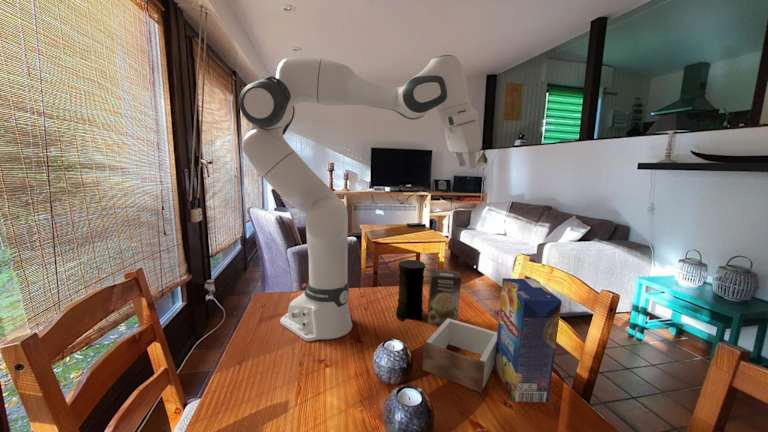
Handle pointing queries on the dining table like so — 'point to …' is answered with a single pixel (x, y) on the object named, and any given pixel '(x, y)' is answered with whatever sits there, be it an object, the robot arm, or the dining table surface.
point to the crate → (468, 341)
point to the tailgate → (453, 366)
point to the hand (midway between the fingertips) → (467, 167)
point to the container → (410, 290)
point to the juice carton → (526, 339)
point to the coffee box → (443, 296)
